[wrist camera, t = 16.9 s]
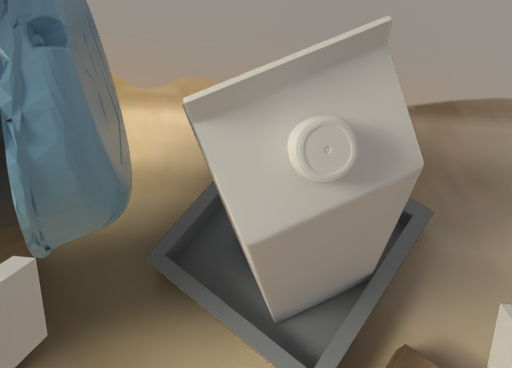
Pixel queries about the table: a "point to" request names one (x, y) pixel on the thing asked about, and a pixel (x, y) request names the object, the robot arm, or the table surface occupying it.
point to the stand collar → (409, 359)
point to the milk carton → (311, 164)
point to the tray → (250, 297)
